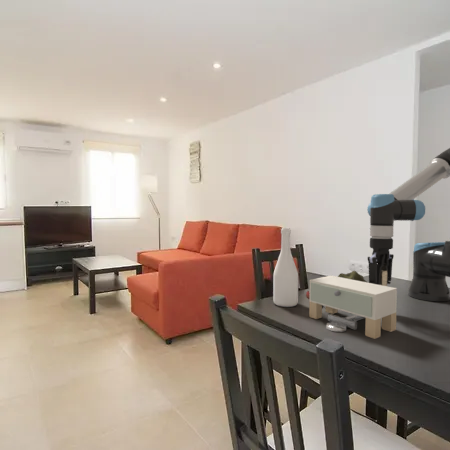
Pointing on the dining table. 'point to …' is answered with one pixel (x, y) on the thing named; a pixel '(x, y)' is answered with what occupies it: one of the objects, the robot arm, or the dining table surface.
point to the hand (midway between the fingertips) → (379, 302)
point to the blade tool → (351, 320)
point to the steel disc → (336, 327)
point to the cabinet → (355, 301)
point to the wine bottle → (285, 275)
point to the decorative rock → (352, 276)
